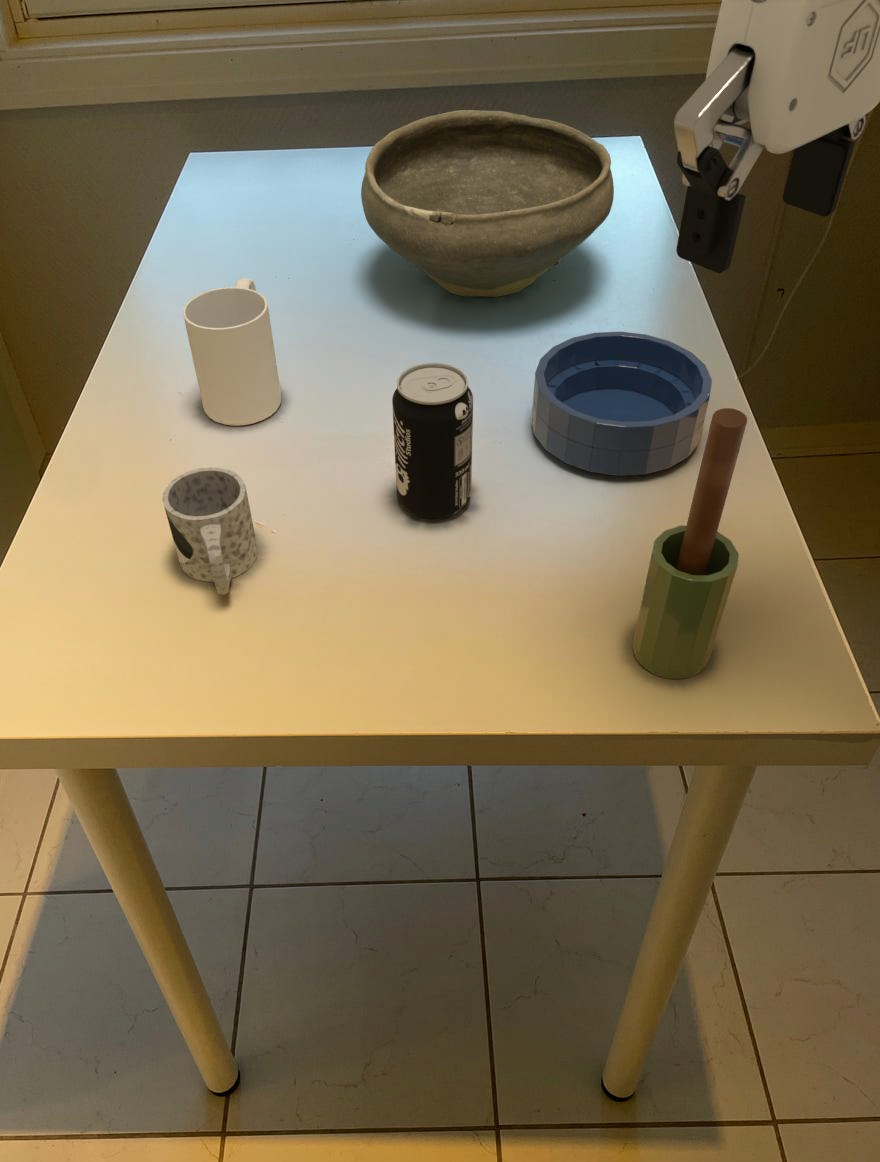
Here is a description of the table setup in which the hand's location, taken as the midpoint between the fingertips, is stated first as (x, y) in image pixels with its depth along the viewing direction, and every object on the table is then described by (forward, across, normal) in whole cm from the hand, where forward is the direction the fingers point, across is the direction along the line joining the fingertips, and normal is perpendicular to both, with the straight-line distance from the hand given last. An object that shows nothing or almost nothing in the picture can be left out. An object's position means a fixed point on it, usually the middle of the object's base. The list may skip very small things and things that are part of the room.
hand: (756, 234), depth 54 cm
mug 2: (+30, -24, +28) cm, 47 cm away
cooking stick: (+29, -4, -3) cm, 29 cm away
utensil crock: (+29, -4, -3) cm, 30 cm away
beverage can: (+30, -5, +22) cm, 37 cm away
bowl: (+30, +26, +49) cm, 63 cm away
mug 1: (+30, -8, +48) cm, 57 cm away
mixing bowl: (+29, +14, +18) cm, 37 cm away
